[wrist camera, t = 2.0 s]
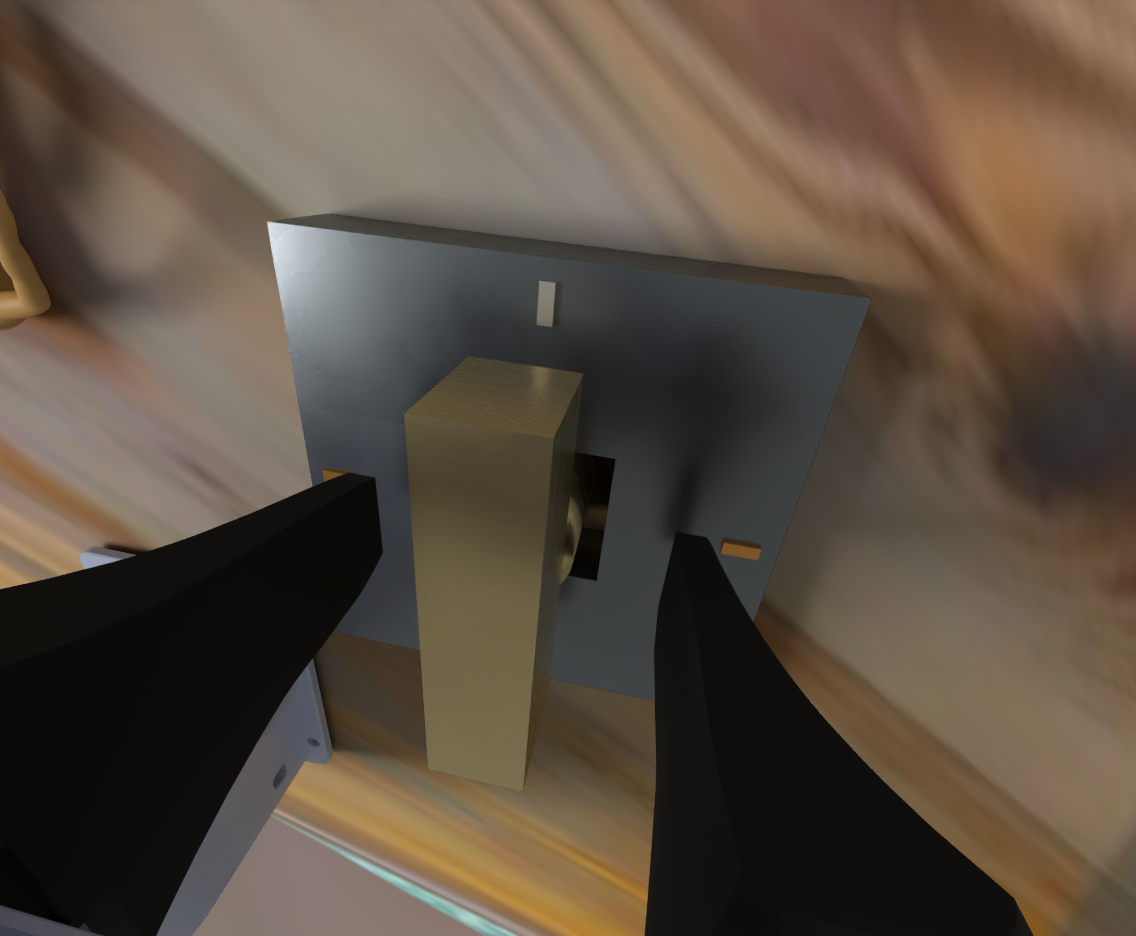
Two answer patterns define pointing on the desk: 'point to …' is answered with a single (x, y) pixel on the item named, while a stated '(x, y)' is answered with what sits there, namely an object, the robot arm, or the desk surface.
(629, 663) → the key plate
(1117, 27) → the desk surface
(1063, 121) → the desk surface
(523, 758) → the t key
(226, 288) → the desk surface
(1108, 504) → the desk surface
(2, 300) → the figurine
